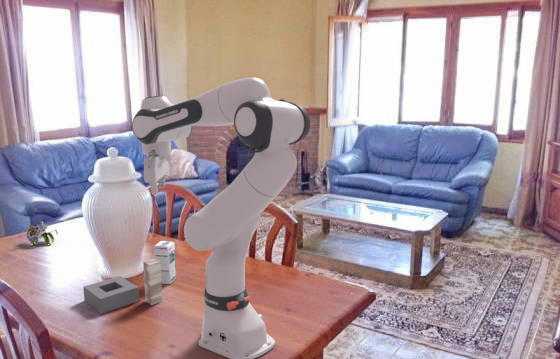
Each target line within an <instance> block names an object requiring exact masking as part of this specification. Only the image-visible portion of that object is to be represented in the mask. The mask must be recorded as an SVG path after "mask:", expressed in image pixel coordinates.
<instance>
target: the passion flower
mask: <svg viewBox="0 0 560 359" xmlns="http://www.w3.org/2000/svg"><path fill="white" fill-rule="evenodd" d="M47 229H48V226H47V225H46V226H45V225H44V221H42V220H41V221H40V223H36V224H34V225H29V227H28V228H27V230H26V234H25V237H27V239H28V241H29V242H31V243H32V244H33V245H37V243H38V241H39V239H43V240H44V241H45V245H46V244H49V245H50V241H51V242H52V243H54V241H55V238H54V235H53V232H54V231H55V233H56V235H59V233H58V231H57V229H53V230H51V231H48V232H46V230H47ZM31 243H30V244H31Z"/></svg>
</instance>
